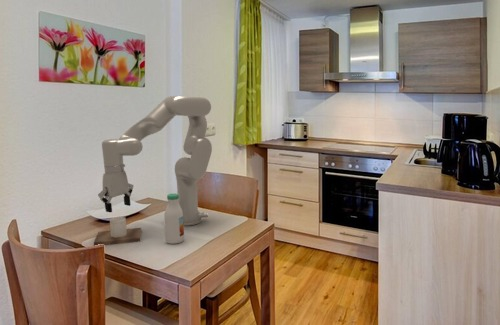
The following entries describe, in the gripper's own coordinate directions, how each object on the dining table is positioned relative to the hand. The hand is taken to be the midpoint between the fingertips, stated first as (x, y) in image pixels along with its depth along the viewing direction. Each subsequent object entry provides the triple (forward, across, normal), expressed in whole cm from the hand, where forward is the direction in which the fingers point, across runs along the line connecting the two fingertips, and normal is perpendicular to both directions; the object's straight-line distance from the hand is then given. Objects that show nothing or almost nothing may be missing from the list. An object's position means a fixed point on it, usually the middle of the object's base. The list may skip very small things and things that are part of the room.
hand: (118, 208), depth 149 cm
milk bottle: (+14, -8, +23) cm, 28 cm away
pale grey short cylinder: (+12, +1, 0) cm, 12 cm away
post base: (+13, +1, 0) cm, 13 cm away
